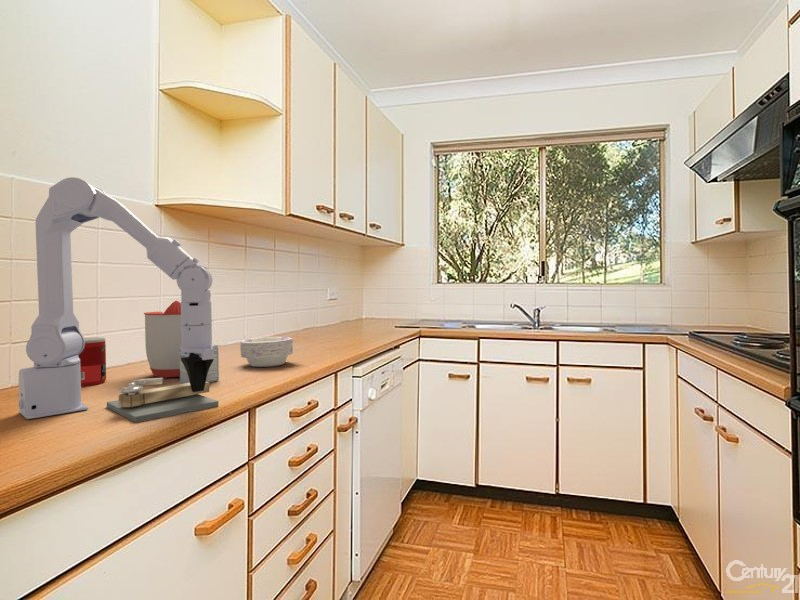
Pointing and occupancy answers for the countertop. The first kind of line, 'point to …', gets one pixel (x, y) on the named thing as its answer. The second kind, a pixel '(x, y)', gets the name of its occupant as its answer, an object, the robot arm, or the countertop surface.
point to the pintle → (131, 390)
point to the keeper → (147, 381)
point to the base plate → (163, 407)
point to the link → (158, 394)
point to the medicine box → (212, 373)
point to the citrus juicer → (164, 341)
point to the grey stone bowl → (266, 351)
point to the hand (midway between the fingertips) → (198, 391)
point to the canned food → (93, 362)
